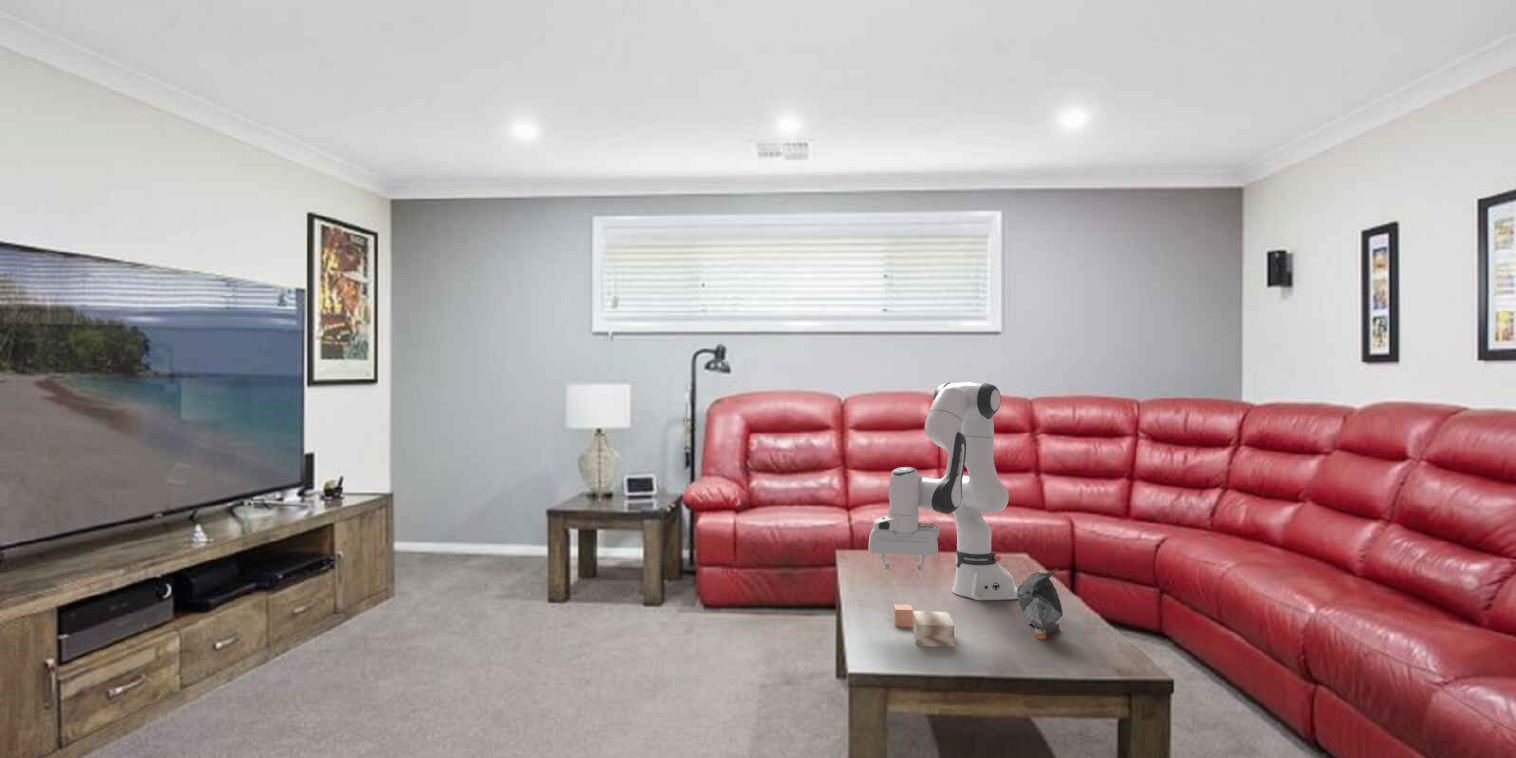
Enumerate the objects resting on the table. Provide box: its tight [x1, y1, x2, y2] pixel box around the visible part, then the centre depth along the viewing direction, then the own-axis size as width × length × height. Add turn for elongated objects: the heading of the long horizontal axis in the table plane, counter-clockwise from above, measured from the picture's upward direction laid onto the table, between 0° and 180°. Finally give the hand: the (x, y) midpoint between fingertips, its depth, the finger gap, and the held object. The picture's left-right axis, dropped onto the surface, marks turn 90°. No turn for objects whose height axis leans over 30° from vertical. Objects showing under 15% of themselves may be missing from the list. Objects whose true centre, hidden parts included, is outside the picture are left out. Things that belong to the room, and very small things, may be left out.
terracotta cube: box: [893, 604, 914, 628], centre depth 226 cm, size 5×5×5 cm
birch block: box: [912, 610, 955, 648], centre depth 213 cm, size 10×12×6 cm
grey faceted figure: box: [1016, 567, 1063, 640], centre depth 217 cm, size 14×15×18 cm
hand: (902, 569), depth 226 cm, fingers open, 8 cm apart
